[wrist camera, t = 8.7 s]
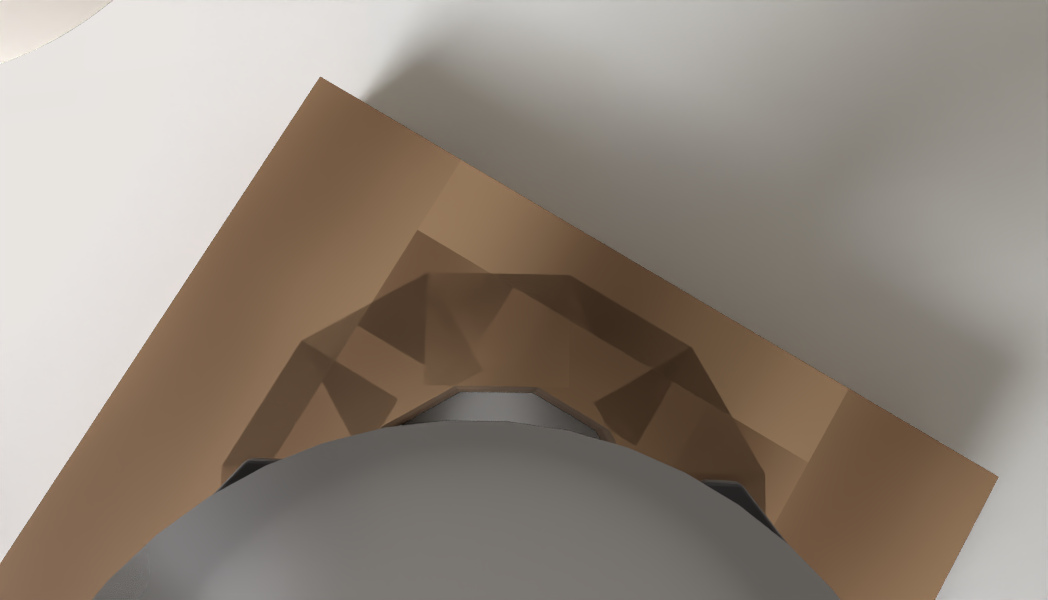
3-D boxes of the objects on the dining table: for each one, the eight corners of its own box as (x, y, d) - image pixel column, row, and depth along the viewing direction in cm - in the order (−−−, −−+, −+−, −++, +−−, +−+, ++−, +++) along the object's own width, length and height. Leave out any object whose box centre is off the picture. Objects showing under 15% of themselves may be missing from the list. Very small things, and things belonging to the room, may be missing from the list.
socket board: (936, 471, 20) (998, 476, 17) (664, 986, 18) (689, 1073, 16) (341, 119, 20) (319, 76, 18) (35, 590, 19) (-34, 614, 17)
